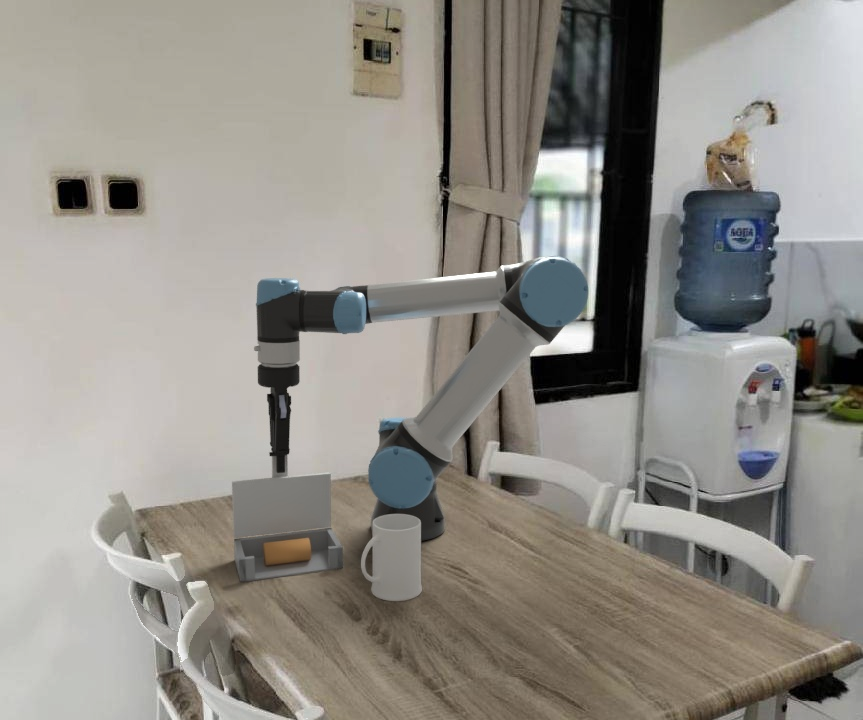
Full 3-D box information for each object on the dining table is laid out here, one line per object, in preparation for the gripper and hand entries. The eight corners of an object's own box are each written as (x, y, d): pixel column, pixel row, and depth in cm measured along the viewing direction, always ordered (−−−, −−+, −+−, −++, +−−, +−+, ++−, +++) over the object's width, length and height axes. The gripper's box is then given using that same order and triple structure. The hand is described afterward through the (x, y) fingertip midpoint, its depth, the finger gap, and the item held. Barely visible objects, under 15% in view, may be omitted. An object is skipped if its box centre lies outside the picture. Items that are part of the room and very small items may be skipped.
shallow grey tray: (331, 547, 147) (331, 527, 146) (343, 568, 137) (342, 547, 137) (234, 559, 141) (234, 539, 140) (240, 582, 131) (239, 559, 131)
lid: (331, 526, 146) (329, 524, 147) (330, 473, 144) (329, 471, 146) (233, 537, 140) (233, 535, 141) (232, 482, 138) (231, 480, 140)
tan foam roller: (306, 544, 143) (308, 533, 140) (309, 563, 141) (311, 553, 138) (262, 549, 140) (264, 538, 137) (265, 569, 138) (266, 559, 135)
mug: (374, 612, 121) (374, 539, 119) (344, 593, 127) (344, 524, 126) (432, 591, 128) (433, 523, 127) (401, 575, 135) (401, 509, 133)
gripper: (254, 358, 145) (256, 478, 149) (261, 370, 133) (263, 500, 137) (293, 357, 147) (294, 475, 151) (304, 368, 135) (305, 497, 139)
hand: (279, 487), depth 144 cm, fingers closed
